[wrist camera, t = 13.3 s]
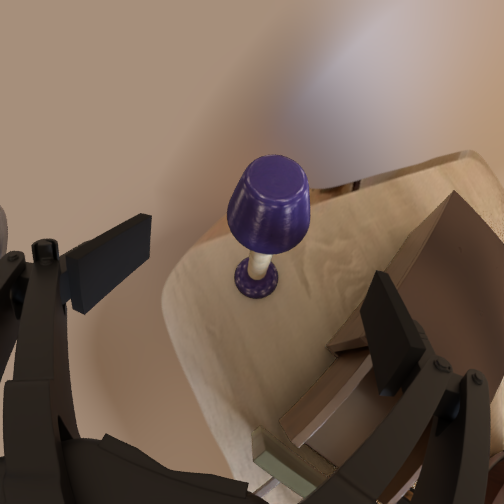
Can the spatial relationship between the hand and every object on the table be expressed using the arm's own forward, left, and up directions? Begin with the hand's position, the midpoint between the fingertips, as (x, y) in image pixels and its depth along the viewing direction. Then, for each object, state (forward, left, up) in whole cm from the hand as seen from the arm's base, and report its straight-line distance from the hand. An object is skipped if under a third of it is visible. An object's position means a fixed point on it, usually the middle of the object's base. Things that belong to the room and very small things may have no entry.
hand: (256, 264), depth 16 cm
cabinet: (+15, +10, -12) cm, 22 cm away
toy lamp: (-1, +2, -12) cm, 13 cm away
